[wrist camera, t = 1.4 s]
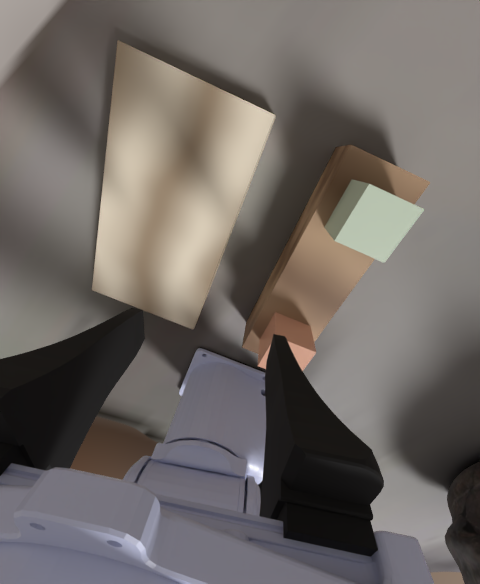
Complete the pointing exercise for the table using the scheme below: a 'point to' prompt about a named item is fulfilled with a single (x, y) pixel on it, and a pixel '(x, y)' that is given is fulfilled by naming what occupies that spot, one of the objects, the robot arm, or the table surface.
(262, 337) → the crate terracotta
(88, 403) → the robot arm
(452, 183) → the table surface
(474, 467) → the vessel
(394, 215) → the pale green cube
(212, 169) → the dock
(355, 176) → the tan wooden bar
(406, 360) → the table surface
